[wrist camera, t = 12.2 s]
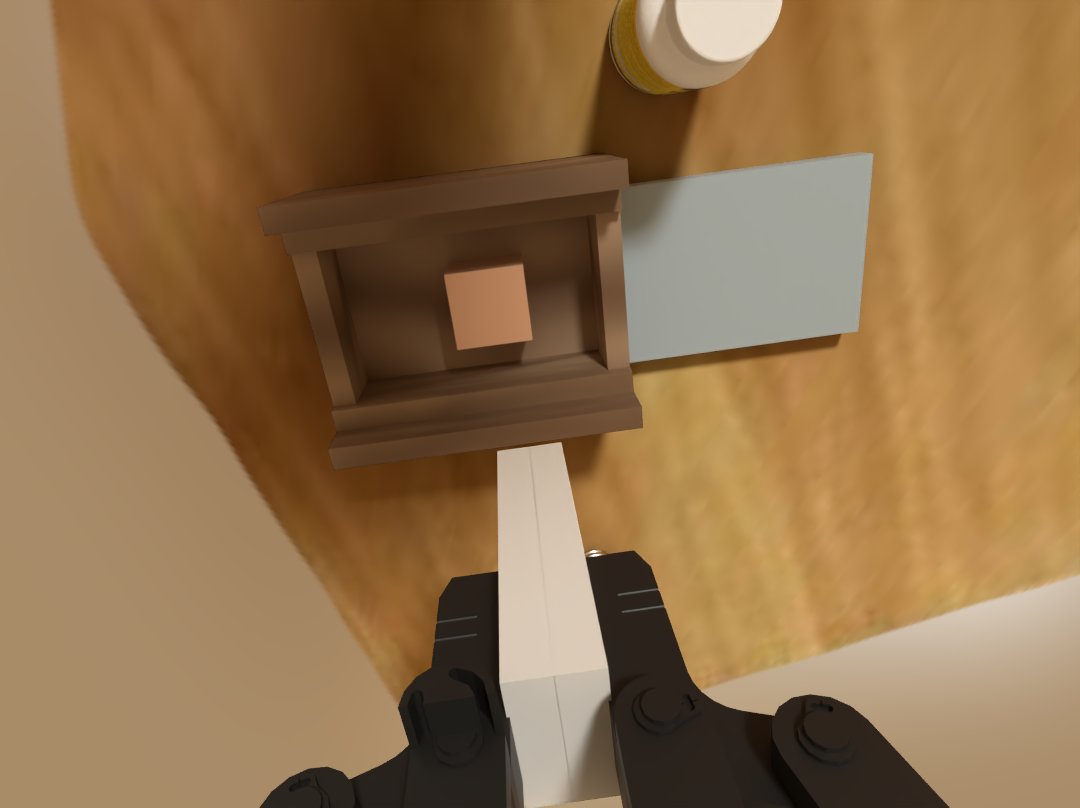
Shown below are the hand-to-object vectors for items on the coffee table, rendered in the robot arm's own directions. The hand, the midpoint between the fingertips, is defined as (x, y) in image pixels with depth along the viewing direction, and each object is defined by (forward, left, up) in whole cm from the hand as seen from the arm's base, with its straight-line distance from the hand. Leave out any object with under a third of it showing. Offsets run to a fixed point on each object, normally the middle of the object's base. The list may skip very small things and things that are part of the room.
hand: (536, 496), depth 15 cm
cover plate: (0, +13, -23) cm, 27 cm away
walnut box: (0, -2, -23) cm, 23 cm away
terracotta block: (0, -1, -22) cm, 22 cm away
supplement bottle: (-11, +9, -23) cm, 27 cm away
